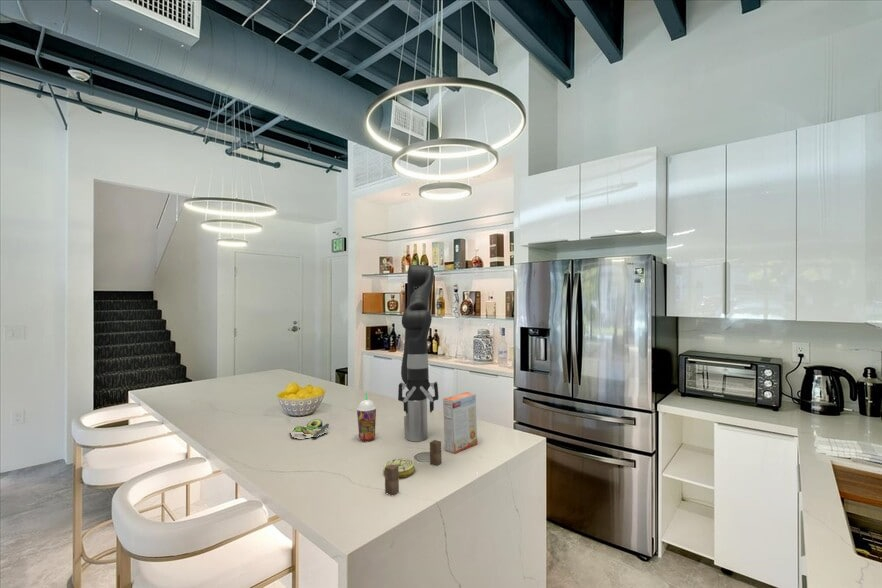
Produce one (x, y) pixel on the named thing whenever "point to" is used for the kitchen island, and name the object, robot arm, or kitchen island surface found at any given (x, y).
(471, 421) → the cracker box
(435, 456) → the posts
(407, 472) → the decorated donut
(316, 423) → the salad plate
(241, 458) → the kitchen island surface
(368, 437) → the smoothie
